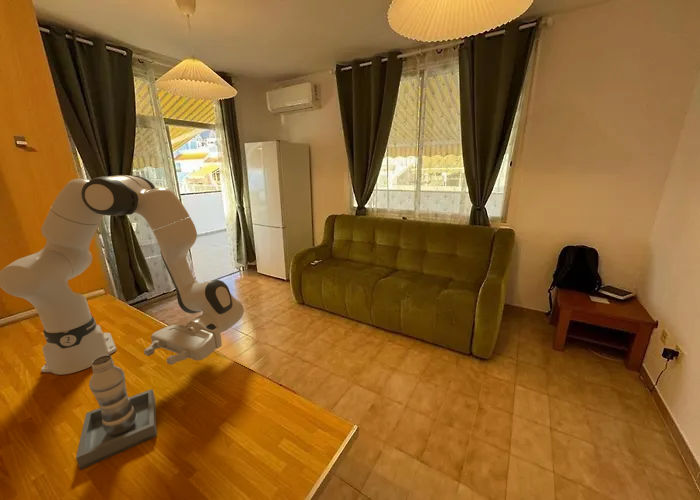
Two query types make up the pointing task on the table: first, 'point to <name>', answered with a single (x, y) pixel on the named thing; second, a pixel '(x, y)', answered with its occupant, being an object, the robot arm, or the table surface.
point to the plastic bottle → (112, 396)
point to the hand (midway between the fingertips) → (156, 357)
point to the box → (104, 445)
